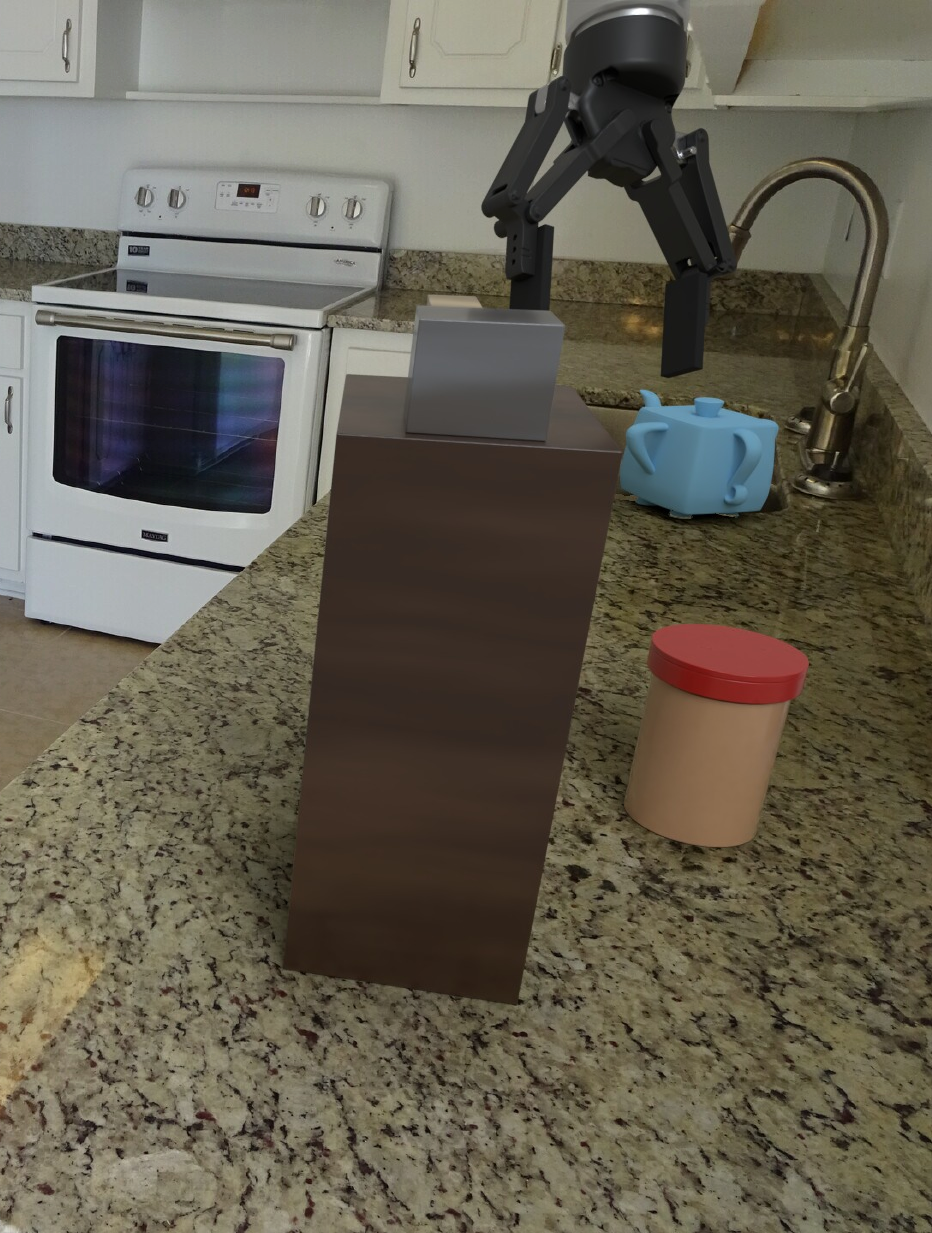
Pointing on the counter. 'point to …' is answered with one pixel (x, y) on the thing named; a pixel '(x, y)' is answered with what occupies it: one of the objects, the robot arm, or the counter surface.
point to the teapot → (698, 458)
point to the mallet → (482, 370)
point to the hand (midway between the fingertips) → (606, 354)
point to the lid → (727, 663)
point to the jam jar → (702, 766)
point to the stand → (442, 691)
